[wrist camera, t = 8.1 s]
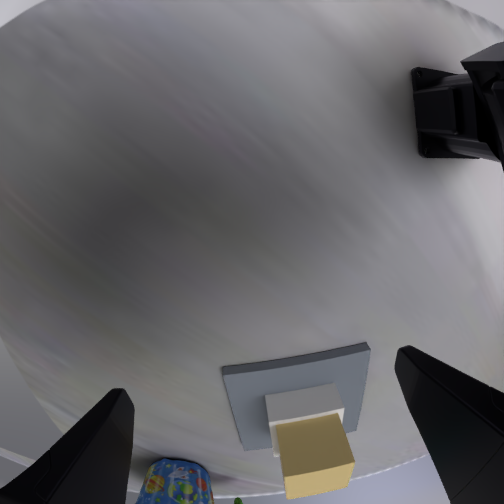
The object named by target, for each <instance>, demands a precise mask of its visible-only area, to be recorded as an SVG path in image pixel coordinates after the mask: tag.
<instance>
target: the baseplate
mask: <svg viewBox="0 0 504 504" xmlns="http://www.w3.org/2000/svg"><path fill="white" fill-rule="evenodd" d="M370 351H371V349H370V348H369V346H368V344H367V342H366V343H362V344H358V345H353V346H349V347H344V348H339V349H335V350H330V351H325V352H320V353H314V354H309V355H303V356H298V357H292V358H286V359H279V360H273V361H266V362H259V363H252V364H244V365H236V366H227V367H223V378H224V381H225V385H226V389H227V392H228V396H229V400H230V403H231V407H232V411H233V414H234V418H235V421H236V425H237V428H238V431H239V435H240V438H241V441H242V445H243V448H244V451H248V450H257V449H265V448H273V446H272V440H271V433H270V427H269V420H268V413H267V406H266V399H265V395H270V394H276V393H283V392H289V391H295V390H300V389H306V388H311V387H316V386H321V385H326V384H331V383H335V385H336V387H337V390H338V392H339V395H340V398H341V400H342V403H343V405H344V414H343V421H342V426H343V428H344V431H345V433H349V432H353V431H356V430H357V425H358V420H359V416H360V411H361V406H362V401H363V395H364V390H365V384H366V378H367V372H368V365H369V359H370Z"/></svg>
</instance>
